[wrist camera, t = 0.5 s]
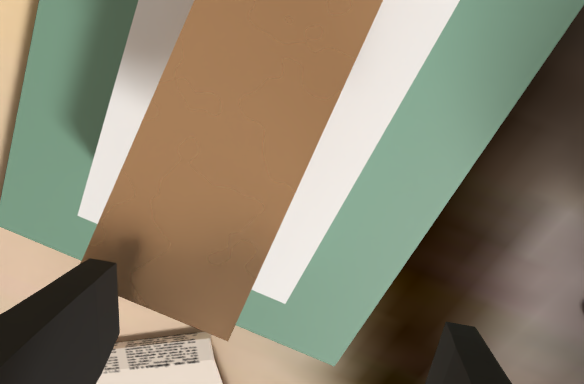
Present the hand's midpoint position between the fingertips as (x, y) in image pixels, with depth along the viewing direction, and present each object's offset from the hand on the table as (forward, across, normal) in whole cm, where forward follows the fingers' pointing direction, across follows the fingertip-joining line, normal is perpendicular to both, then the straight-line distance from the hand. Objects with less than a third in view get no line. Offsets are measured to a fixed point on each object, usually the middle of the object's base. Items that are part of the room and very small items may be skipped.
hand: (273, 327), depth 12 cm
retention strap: (+4, +2, -4) cm, 6 cm away
